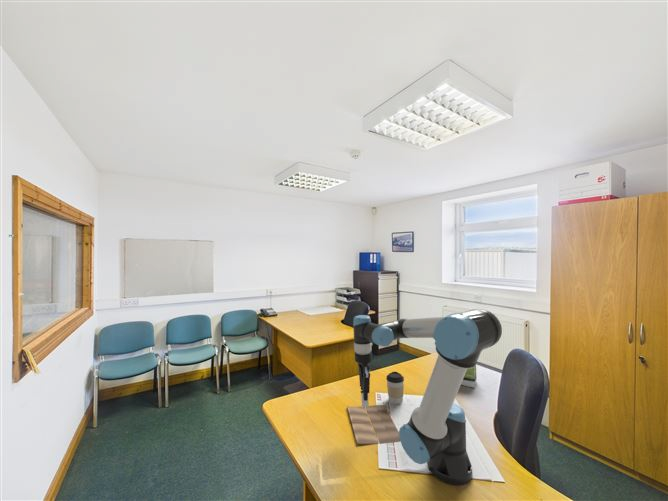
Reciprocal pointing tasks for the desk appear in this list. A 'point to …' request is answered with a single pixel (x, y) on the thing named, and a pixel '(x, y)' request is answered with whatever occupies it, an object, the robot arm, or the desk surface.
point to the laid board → (383, 424)
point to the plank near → (364, 434)
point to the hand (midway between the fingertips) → (365, 406)
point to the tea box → (470, 377)
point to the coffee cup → (395, 387)
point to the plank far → (358, 415)
